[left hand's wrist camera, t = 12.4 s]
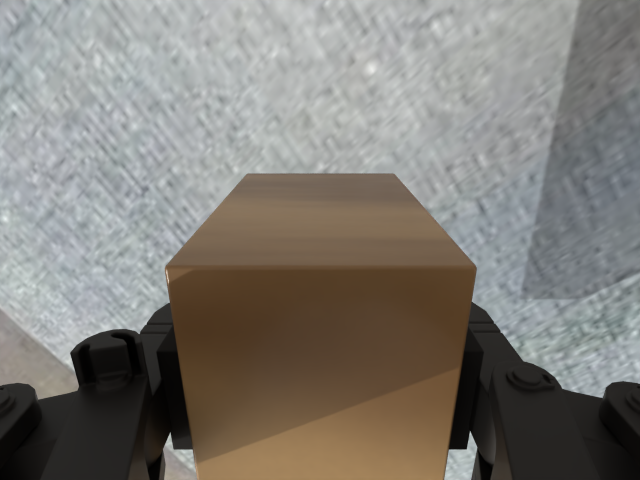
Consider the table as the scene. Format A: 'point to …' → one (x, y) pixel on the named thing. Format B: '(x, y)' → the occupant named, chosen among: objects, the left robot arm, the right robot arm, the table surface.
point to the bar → (320, 331)
